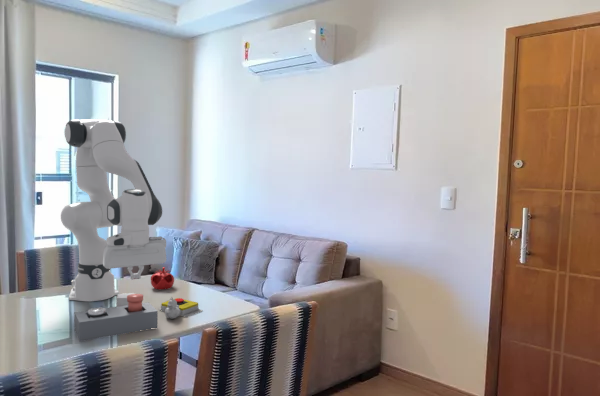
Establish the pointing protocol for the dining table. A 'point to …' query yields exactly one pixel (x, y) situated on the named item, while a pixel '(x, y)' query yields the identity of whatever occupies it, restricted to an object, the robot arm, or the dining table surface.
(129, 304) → the red plunger
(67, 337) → the dining table surface
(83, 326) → the block
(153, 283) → the pomegranate
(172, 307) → the grey figurine
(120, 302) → the light grey cube
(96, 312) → the grey plunger
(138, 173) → the robot arm
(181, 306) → the emergency button
